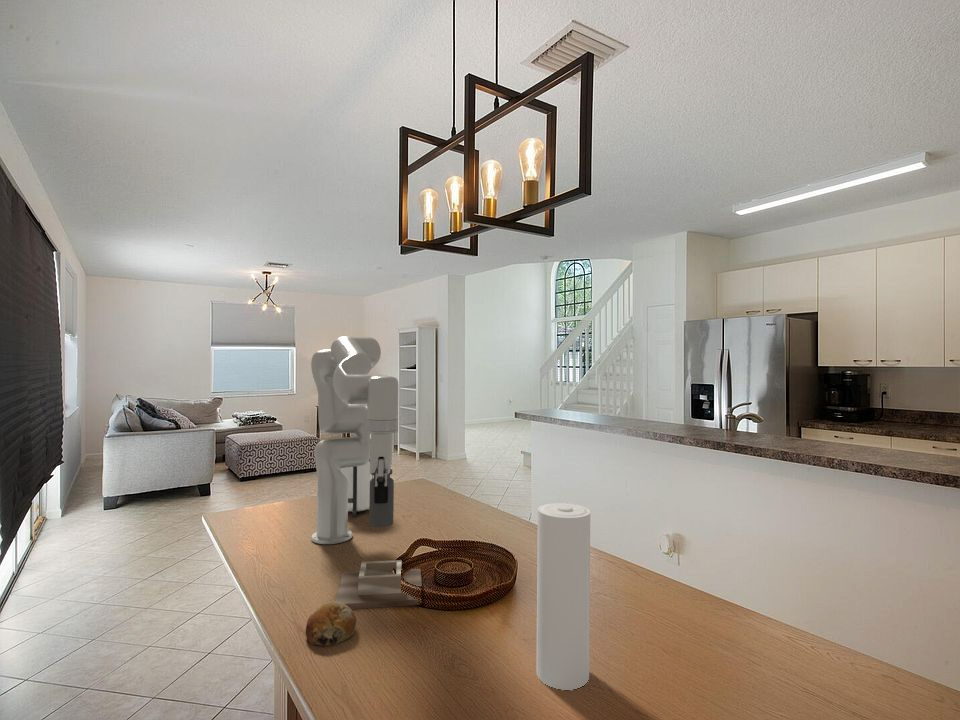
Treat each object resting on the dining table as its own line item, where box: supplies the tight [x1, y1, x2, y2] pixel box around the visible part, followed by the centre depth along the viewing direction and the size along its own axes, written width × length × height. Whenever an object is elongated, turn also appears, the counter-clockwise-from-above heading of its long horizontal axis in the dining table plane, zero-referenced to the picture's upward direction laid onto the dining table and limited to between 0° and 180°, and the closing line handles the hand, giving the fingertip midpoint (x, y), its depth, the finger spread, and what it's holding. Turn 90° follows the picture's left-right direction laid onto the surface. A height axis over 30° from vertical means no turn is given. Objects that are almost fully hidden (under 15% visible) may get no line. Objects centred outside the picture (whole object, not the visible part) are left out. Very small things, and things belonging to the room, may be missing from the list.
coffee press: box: [340, 433, 374, 518], centre depth 191 cm, size 17×16×30 cm
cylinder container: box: [535, 502, 591, 691], centre depth 92 cm, size 9×9×30 cm
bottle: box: [368, 463, 395, 528], centre depth 126 cm, size 6×6×15 cm
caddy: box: [334, 559, 423, 610], centre depth 126 cm, size 18×20×5 cm
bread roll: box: [305, 600, 357, 647], centre depth 106 cm, size 10×10×8 cm
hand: (381, 498), depth 126 cm, fingers closed on bottle, 5 cm apart
